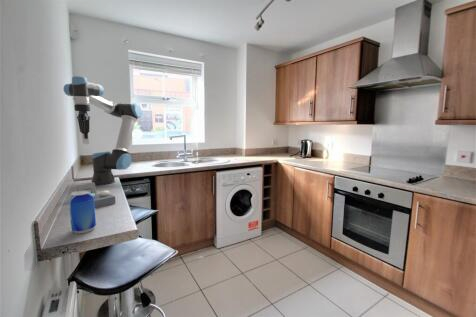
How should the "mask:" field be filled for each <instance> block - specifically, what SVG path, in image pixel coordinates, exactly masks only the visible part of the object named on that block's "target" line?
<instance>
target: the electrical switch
mask: <svg viewBox="0 0 476 317" xmlns="http://www.w3.org/2000/svg"><path fill="white" fill-rule="evenodd" d="M75 188H76V191H82V190H89V191H91V192H90V193H95V194H98V192H97V188H96V185H95V183H92V182H89V183H88V182H87V183H84V184H83V183H81V184H77V185H76V186H75Z"/></svg>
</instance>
